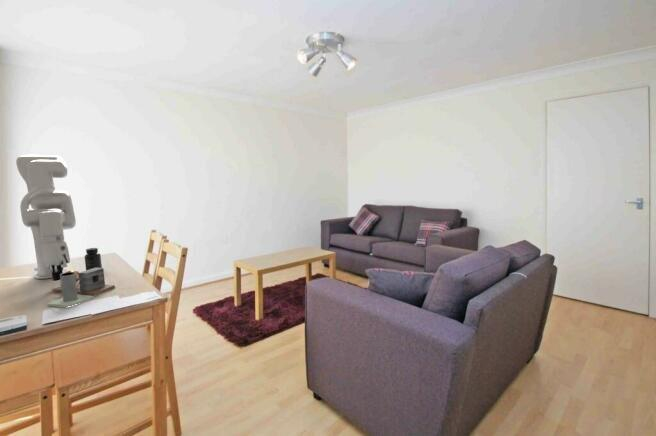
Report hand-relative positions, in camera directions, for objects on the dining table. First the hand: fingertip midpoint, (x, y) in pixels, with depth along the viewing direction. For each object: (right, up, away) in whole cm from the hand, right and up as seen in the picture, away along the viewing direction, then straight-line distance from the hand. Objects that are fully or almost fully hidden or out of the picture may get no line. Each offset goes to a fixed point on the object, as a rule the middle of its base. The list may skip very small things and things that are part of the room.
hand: (58, 279), depth 145 cm
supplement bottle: (-2, -1, +25) cm, 25 cm away
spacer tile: (+18, -6, -16) cm, 25 cm away
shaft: (+12, -1, -3) cm, 12 cm away
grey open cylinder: (+18, -5, -16) cm, 25 cm away
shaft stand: (+13, -4, -3) cm, 14 cm away
